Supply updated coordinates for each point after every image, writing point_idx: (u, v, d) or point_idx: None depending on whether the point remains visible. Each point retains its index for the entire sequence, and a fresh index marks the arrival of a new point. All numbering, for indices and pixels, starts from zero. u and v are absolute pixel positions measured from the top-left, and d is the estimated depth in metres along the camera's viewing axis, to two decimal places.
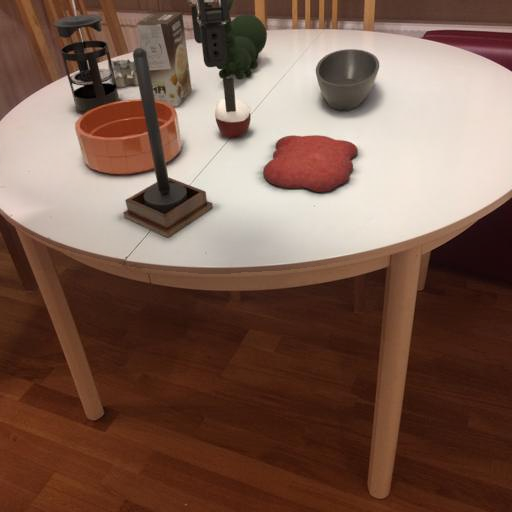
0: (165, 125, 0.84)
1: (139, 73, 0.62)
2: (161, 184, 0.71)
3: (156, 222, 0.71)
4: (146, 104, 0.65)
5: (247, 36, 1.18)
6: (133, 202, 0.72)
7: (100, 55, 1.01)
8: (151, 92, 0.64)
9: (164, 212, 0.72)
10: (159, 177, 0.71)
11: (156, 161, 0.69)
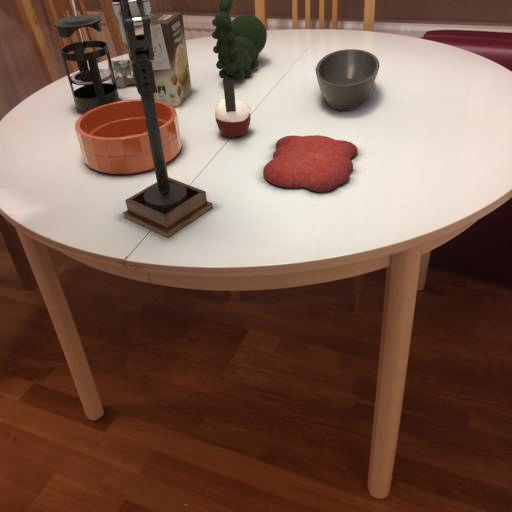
0: (165, 125, 0.84)
1: None
2: (161, 184, 0.71)
3: (156, 222, 0.71)
4: (146, 104, 0.65)
5: (247, 36, 1.18)
6: (133, 202, 0.72)
7: (100, 55, 1.01)
8: None
9: (164, 212, 0.72)
10: (159, 177, 0.71)
11: (156, 161, 0.69)
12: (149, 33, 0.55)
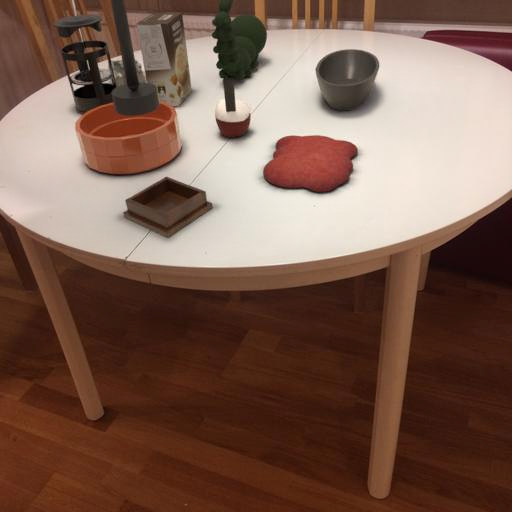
0: (165, 125, 0.84)
1: None
2: (129, 78, 0.68)
3: (156, 222, 0.71)
4: None
5: (247, 36, 1.18)
6: (133, 202, 0.72)
7: (100, 55, 1.01)
8: None
9: (132, 107, 0.68)
10: (127, 70, 0.68)
11: (124, 50, 0.66)
12: None
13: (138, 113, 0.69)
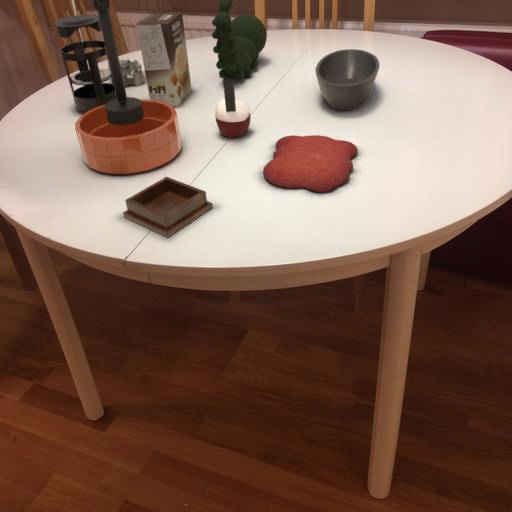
0: (165, 125, 0.84)
1: None
2: (119, 94, 0.84)
3: (156, 222, 0.71)
4: (102, 19, 0.77)
5: (247, 36, 1.18)
6: (133, 202, 0.72)
7: (100, 55, 1.01)
8: None
9: (121, 118, 0.84)
10: (116, 88, 0.83)
11: (114, 72, 0.82)
12: None
13: (126, 123, 0.85)
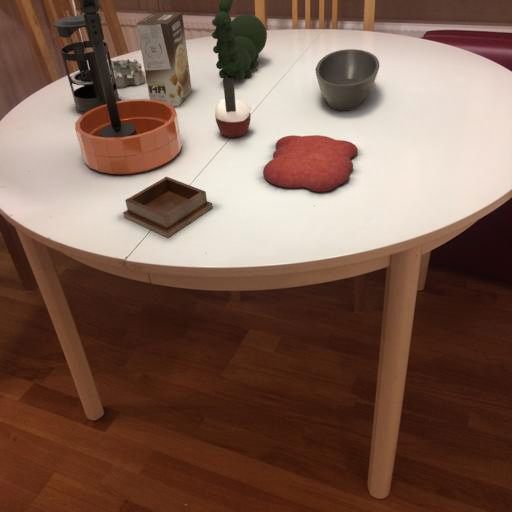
0: (165, 125, 0.84)
1: None
2: (113, 121, 0.86)
3: (156, 222, 0.71)
4: (97, 51, 0.79)
5: (247, 36, 1.18)
6: (133, 202, 0.72)
7: None
8: None
9: None
10: (111, 115, 0.85)
11: (108, 100, 0.84)
12: None
13: None
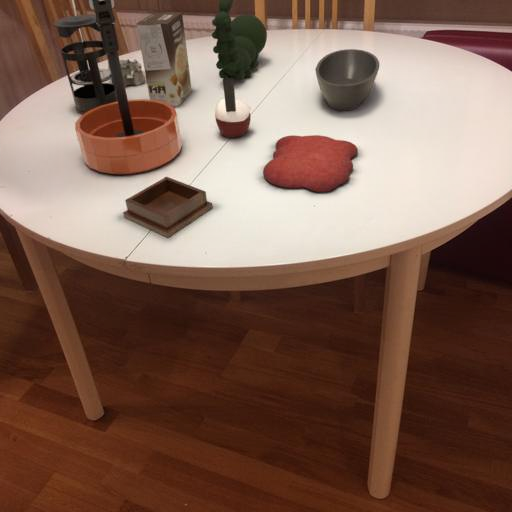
0: (165, 125, 0.84)
1: None
2: (126, 129, 0.87)
3: (156, 222, 0.71)
4: (112, 60, 0.81)
5: (247, 36, 1.18)
6: (133, 202, 0.72)
7: (100, 55, 1.01)
8: None
9: None
10: (124, 123, 0.87)
11: (122, 108, 0.85)
12: None
13: None
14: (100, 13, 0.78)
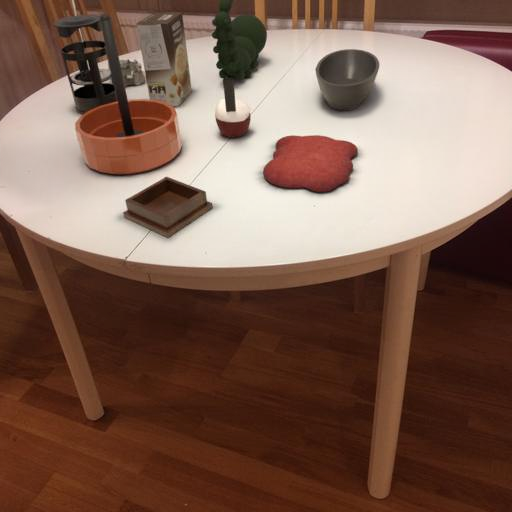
0: (165, 125, 0.84)
1: (105, 34, 0.78)
2: (126, 129, 0.87)
3: (156, 222, 0.71)
4: (111, 60, 0.81)
5: (247, 36, 1.18)
6: (133, 202, 0.72)
7: (100, 55, 1.01)
8: (115, 50, 0.80)
9: None
10: (124, 123, 0.87)
11: (122, 108, 0.85)
12: None
13: None
14: None
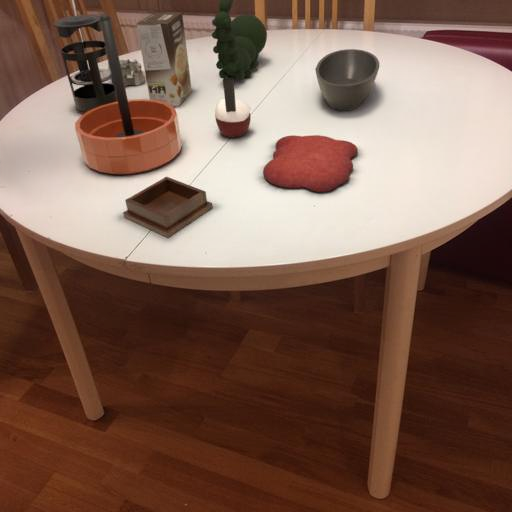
0: (165, 125, 0.84)
1: (105, 34, 0.78)
2: (126, 129, 0.87)
3: (156, 222, 0.71)
4: (111, 60, 0.81)
5: (247, 36, 1.18)
6: (133, 202, 0.72)
7: (100, 55, 1.01)
8: (115, 50, 0.80)
9: None
10: (124, 123, 0.87)
11: (122, 108, 0.85)
12: None
13: None
14: None
